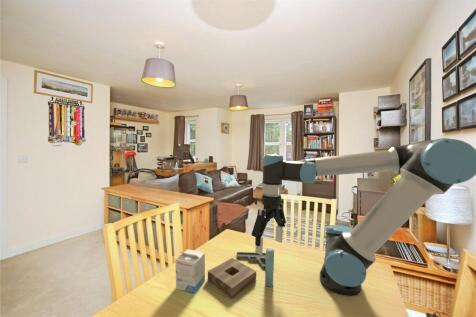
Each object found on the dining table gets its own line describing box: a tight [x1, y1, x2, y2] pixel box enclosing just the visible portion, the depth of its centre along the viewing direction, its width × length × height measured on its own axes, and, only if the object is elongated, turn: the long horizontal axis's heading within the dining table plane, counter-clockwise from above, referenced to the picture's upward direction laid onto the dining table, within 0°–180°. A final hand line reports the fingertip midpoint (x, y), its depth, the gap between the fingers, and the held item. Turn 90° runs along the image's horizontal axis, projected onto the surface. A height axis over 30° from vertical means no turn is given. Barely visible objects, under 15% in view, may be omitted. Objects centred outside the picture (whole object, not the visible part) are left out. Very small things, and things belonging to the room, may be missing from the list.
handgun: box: [236, 251, 266, 270], centre depth 97 cm, size 2×17×12 cm
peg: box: [264, 247, 275, 288], centre depth 81 cm, size 3×3×14 cm
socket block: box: [207, 257, 257, 299], centre depth 83 cm, size 14×14×4 cm
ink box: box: [174, 248, 206, 294], centre depth 80 cm, size 9×8×13 cm
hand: (269, 247), depth 81 cm, fingers open, 13 cm apart
